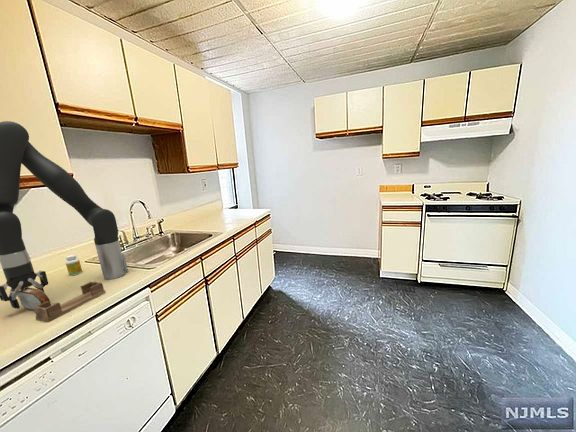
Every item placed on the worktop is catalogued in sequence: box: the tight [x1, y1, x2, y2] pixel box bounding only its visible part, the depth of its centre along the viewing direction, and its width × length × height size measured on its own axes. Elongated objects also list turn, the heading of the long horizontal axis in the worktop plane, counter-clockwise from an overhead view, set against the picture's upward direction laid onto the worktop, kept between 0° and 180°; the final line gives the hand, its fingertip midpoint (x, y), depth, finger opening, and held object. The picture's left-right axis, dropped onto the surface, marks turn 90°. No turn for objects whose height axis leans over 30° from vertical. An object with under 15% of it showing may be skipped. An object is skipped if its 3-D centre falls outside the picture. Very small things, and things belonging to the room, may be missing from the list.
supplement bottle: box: [65, 254, 83, 277], centre depth 129 cm, size 5×5×10 cm
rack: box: [33, 280, 107, 323], centre depth 97 cm, size 7×20×5 cm, turn 161°
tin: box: [17, 287, 51, 312], centre depth 96 cm, size 15×3×8 cm, turn 70°
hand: (29, 302), depth 98 cm, fingers open, 7 cm apart
